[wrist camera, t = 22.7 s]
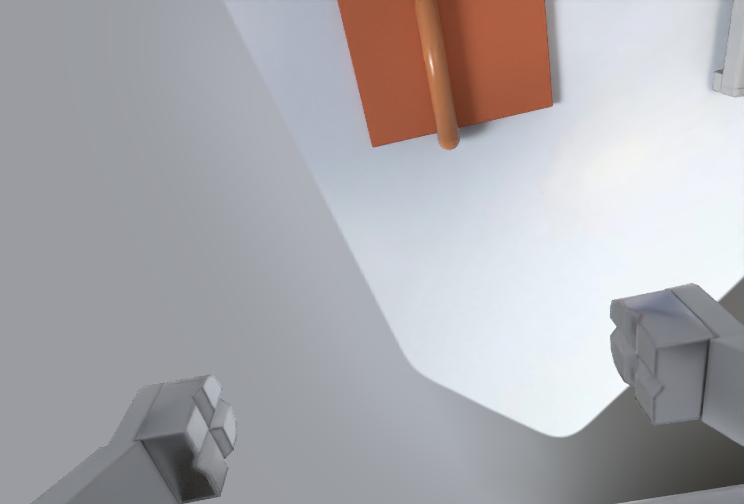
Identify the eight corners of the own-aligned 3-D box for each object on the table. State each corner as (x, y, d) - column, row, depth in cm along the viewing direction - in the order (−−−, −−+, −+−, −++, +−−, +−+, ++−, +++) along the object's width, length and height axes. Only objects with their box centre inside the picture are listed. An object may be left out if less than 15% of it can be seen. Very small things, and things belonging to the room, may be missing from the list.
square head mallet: (419, 153, 41) (421, 159, 39) (357, -161, 32) (356, -169, 30) (480, 139, 40) (484, 145, 39) (433, -184, 31) (436, -193, 30)
